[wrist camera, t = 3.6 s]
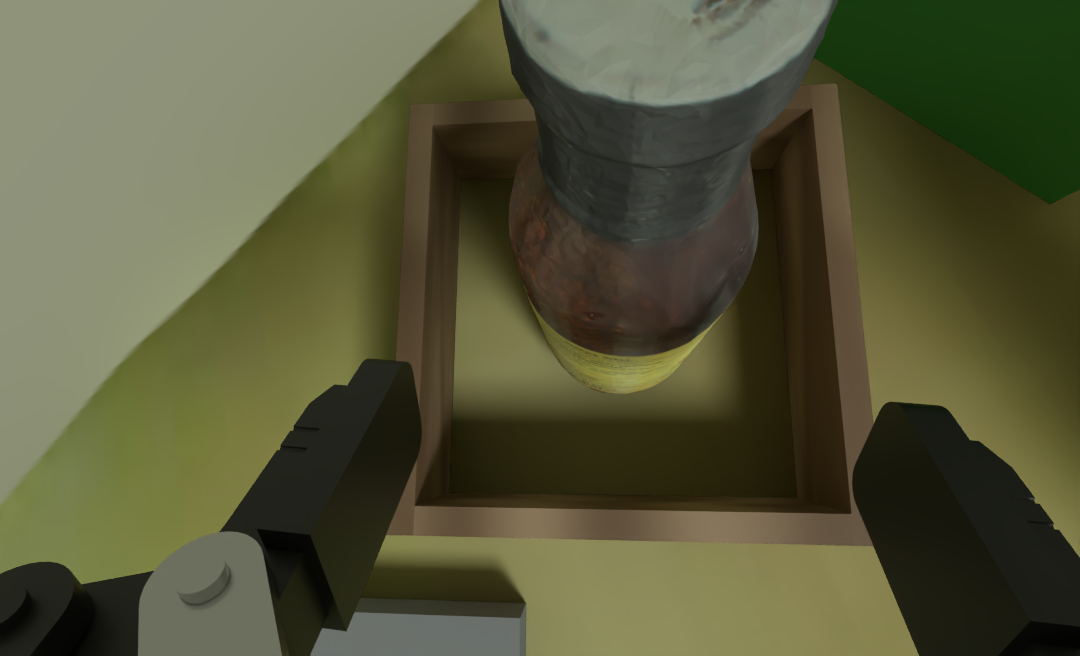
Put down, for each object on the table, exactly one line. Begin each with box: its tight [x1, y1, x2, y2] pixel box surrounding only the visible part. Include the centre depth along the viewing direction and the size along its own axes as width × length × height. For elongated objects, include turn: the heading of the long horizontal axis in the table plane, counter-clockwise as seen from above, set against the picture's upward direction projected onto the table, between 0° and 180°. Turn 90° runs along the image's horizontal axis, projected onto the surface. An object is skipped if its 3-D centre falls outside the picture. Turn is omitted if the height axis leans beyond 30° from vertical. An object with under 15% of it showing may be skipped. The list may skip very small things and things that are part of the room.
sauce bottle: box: [499, 0, 838, 394], centre depth 16 cm, size 7×6×20 cm
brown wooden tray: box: [386, 83, 873, 546], centre depth 23 cm, size 17×17×5 cm
